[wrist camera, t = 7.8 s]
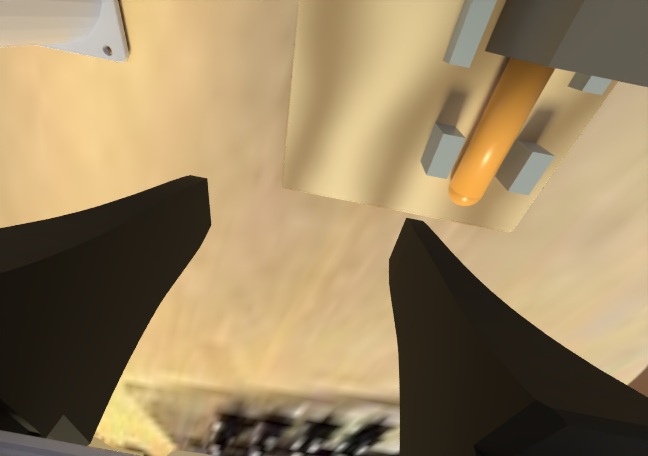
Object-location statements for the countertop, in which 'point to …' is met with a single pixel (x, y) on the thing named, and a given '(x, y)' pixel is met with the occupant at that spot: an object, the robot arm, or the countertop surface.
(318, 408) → the countertop surface
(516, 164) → the clip
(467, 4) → the holder
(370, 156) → the board
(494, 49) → the plug
